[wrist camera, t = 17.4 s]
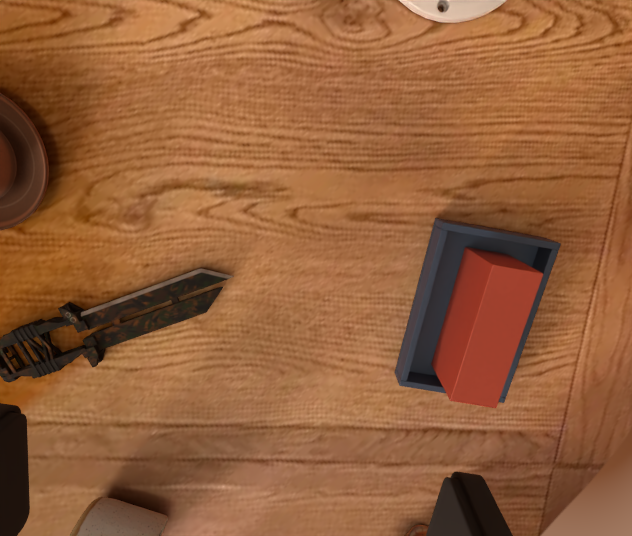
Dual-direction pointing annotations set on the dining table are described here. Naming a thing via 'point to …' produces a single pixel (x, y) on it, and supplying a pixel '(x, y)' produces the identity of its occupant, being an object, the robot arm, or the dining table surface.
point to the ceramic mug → (118, 520)
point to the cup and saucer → (20, 165)
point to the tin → (418, 531)
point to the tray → (439, 286)
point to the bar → (484, 325)
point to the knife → (106, 314)
